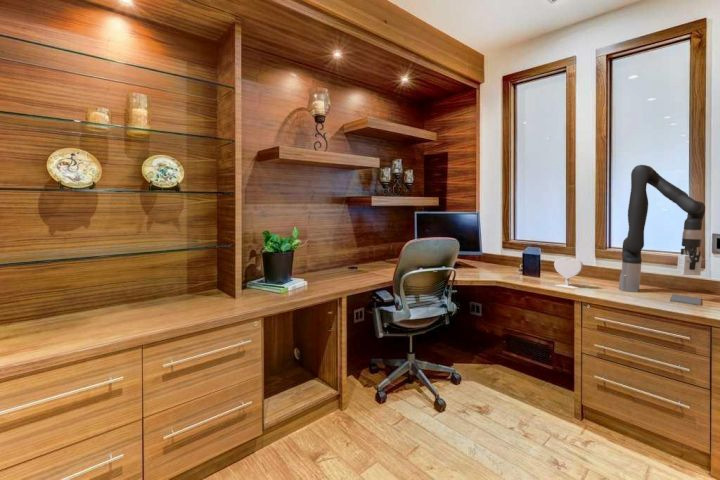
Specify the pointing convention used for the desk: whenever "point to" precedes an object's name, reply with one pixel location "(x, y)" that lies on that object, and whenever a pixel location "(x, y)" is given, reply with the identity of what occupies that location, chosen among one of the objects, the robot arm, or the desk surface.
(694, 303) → the mat
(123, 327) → the desk surface
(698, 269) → the small box
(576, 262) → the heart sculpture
